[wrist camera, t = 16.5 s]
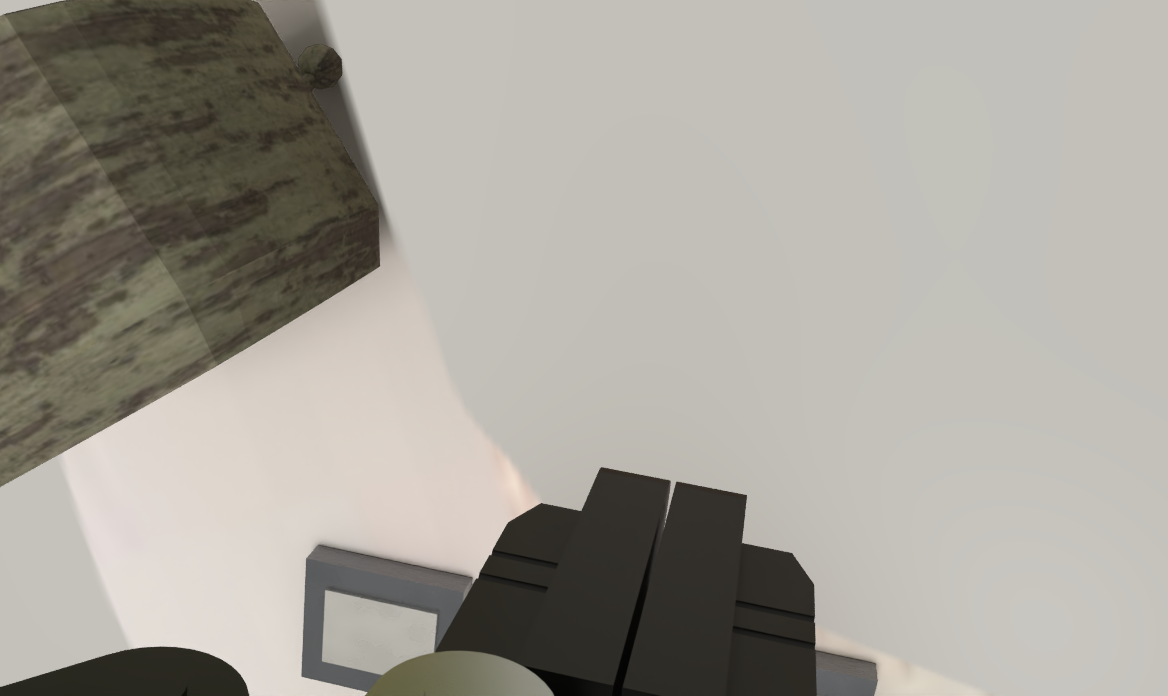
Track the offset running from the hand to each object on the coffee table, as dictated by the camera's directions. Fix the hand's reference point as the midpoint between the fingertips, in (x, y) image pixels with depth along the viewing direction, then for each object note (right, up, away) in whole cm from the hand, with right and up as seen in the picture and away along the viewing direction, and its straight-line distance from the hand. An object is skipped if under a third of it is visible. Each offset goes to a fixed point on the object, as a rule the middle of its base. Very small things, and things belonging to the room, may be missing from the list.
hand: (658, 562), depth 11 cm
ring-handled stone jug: (-13, +8, +31) cm, 35 cm away
